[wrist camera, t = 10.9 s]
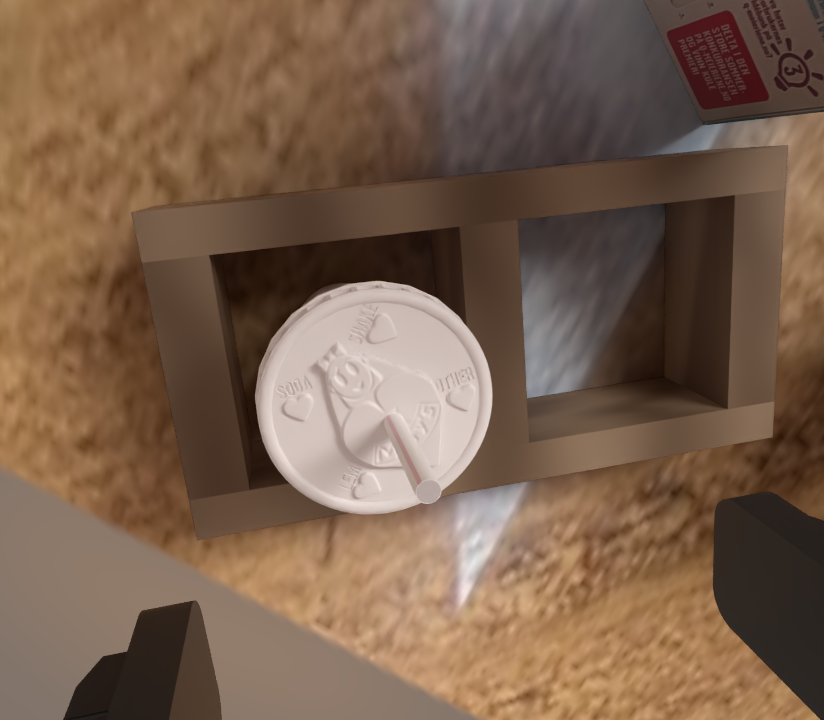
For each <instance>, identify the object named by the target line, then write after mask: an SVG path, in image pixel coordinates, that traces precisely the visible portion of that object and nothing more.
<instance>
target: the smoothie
mask: <svg viewBox="0 0 824 720" xmlns="http://www.w3.org/2000/svg"><path fill="white" fill-rule="evenodd" d="M255 403H256V409H257V416H258V423H259V428H260V432H261V436H262V440H263V443H264V445H265V448H266V450H267V452H268V454H269V456H270V458H271V460H272V462H273V463H274V465H275V466H276V468H277V469H278V471H279V472H280V473H281V474H282V476H283V477H284V478H285V479H286V480H287V481H288V482H289V483H290V484H291V485H292V486H293V487H294V488H296V489H297V490H298V491H299V492H301V493H302V494H304V495H305V496H307V497H308V498H310V499H311V500H313V501H315V502H317V503H319V504H321V505H324V506H327V507H329V508H332V509H335V510H339V511H343V512H348V513H355V514H383V513H390V512H395V511H399V510H403V509H406V508H409V507H412V506H415V505H417V504H419V503H424V504H431V503H433V502H435V501H437V500H438V499H439V497H440V496H441V492H442V490H444V489H445V488H446V487H447V486H449V485H450V484H451V483H452V482H453V481H454V480H455V479H456V478H457V477H458V476H459V475H460V474H461V473H462V472H463V471H464V470H465V469H466V467H467V466H468V465H469V464H470V462H471V461H472V459H473V458H474V456H475V455H476V453H477V451H478V449H479V448H480V446H481V443H482V441H483V439H484V437H485V434H486V431H487V428H488V425H489V420H490V416H491V409H492V382H491V376H490V371H489V367H488V363H487V361H486V358H485V355H484V353H483V351H482V349H481V347H480V345H479V343H478V341H477V340H476V338H475V337H474V335H473V334H472V332H471V331H470V330H469V329H468V327H467V326H466V325H465V324H464V323H463V321H462V320H461V319H460V317H459V316H458V315H457V314H455V313H454V312H453V311H452V310H451V309H449V308H448V307H447V306H446V305H445V304H444V303H442V302H441V301H440V300H439V299H438V298H436V297H434V296H431V295H429V294H427V293H425V292H423V291H420V290H418V289H416V288H414V287H412V286H409V285H403V284H397V283H390V282H384V281H371V282H362V283H352V284H350V283H336V284H331V285H327V286H325V287H322V288H320V289H319V290H317V291H315V292H314V293H313V294H312V295H310V296H309V297H308V298H307V299H306V301H305V302H304V303H303V305H302V307H301V308H300V309H298V310H297V311H295V312H294V313H293V314H291V316H290V317H289V318H288V319H287V320H286V322H285V323H284V324H283V325H282V327H281V328H280V329H279V330H278V332H277V333H276V334H275V335H274V336H273V338H272V339H271V341H270V343H269V346H268V348H267V350H266V353H265V355H264V357H263V359H262V362H261V364H260V366H259V371H258V378H257V385H256V393H255Z"/></svg>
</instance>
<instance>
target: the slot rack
mask: <svg viewBox="0 0 824 720" xmlns="http://www.w3.org/2000/svg"><path fill="white" fill-rule="evenodd" d="M787 157H788V145H785V146H767V147H750V148H732V149H715V150H703V151H693V152H683V153H674V154H664V155H654V156H644V157H634V158H624V159H614V160H605V161H595V162H585V163H575V164H565V165H555V166H546V167H536V168H526V169H516V170H506V171H496V172H487V173H477V174H467V175H457V176H447V177H437V178H427V179H418V180H408V181H398V182H388V183H378V184H368V185H359V186H349V187H339V188H329V189H319V190H309V191H300V192H290V193H280V194H270V195H260V196H250V197H241V198H231V199H221V200H211V201H201V202H191V203H181V204H172V205H162V206H154V207H150V208H147V209H143V210H139V211H136V212H132V218H133V223H134V228H135V233H136V238H137V243H138V248H139V253H140V258H141V263H142V268H143V273H144V278H145V283H146V288H147V293H148V298H149V303H150V308H151V313H152V318H153V323H154V328H155V333H156V338H157V343H158V348H159V353H160V358H161V363H162V368H163V373H164V378H165V382H166V387H167V392H168V397H169V402H170V407H171V412H172V417H173V422H174V427H175V432H176V437H177V442H178V447H179V452H180V457H181V462H182V467H183V472H184V477H185V482H186V487H187V492H188V497H189V502H190V507H191V512H192V517H193V522H194V527H195V532H196V537H197V540H201V539H207V538H212V537H218V536H223V535H229V534H235V533H240V532H246V531H251V530H257V529H263V528H268V527H274V526H279V525H285V524H290V523H296V522H302V521H307V520H313V519H318V518H324V517H330V516H335V515H341V514H346V513H348V512H343V511H339V510H335V509H332V508H329V507H327V506H324V505H321V504H319V503H317V502H315V501H313V500H311V499H310V498H308V497H307V496H305V495H304V494H302V493H301V492H299V491H298V490H297V489H296V488H294V487H293V486H292V485H291V484H290V483H289V482H288V481H287V480H286V479H285V478H284V477H283V476H282V474H281V473H280V472H279V471H278V469H277V468H276V466H275V465H274V463H273V462H272V460H271V458H270V456H269V454H268V452H267V450H266V448H265V445H264V443H263V440H262V441H256V442H253V441H252V435H251V429H250V423H249V417H248V411H247V405H246V399H245V393H244V387H243V382H242V376H241V370H240V364H239V358H238V352H237V346H236V340H235V334H234V328H233V322H232V316H231V310H230V304H229V298H228V292H227V286H226V281H225V275H224V269H223V263H222V257H221V254H223V253H232V252H241V251H250V250H258V249H267V248H276V247H285V246H293V245H302V244H311V243H320V242H328V241H337V240H346V239H355V238H364V237H372V236H381V235H390V234H399V233H407V232H416V231H425V230H431V242H432V254H433V266H434V278H435V289H436V298H438V299H439V300H440V301H441V302H442V303H444V304H445V305H446V306H447V307H448V308H449V309H451V310H452V311H453V312H454V313H455V314H457V315H458V316H459V317H460V319H461V320H462V321H463V323H464V324H465V325H466V326H467V327H468V329H469V330H470V331H471V332H472V334H473V335H474V337H475V338H476V340H477V341H478V343H479V345H480V347H481V349H482V351H483V353H484V355H485V358H486V361H487V363H488V367H489V371H490V376H491V382H492V409H491V416H490V420H489V425H488V428H487V431H486V434H485V437H484V439H483V441H482V443H481V446H480V448H479V449H478V451H477V453H476V455H475V456H474V458H473V459H472V461H471V462H470V464H469V465H468V466H467V467H466V469H465V470H464V471H463V472H462V473H461V474H460V475H459V476H458V477H457V478H456V479H455V480H454V481H453V482H452V483H451V484H450V485H449V486H447V487H446V488H445V489H444V490H442V492H441V496H447V495H453V494H458V493H464V492H469V491H475V490H481V489H486V488H492V487H497V486H503V485H509V484H514V483H520V482H525V481H531V480H537V479H542V478H548V477H553V476H559V475H565V474H570V473H576V472H581V471H587V470H592V469H598V468H604V467H609V466H615V465H620V464H626V463H632V462H637V461H643V460H648V459H654V458H660V457H665V456H671V455H676V454H682V453H688V452H693V451H699V450H704V449H710V448H716V447H721V446H727V445H732V444H738V443H743V442H749V441H755V440H760V439H766V438H771V437H773V421H774V402H775V383H776V364H777V345H778V326H779V308H780V289H781V270H782V251H783V232H784V213H785V195H786V176H787ZM662 203H666V212H665V358H664V377H660V378H654V379H647V380H641V381H635V382H628V383H622V384H616V385H609V386H603V387H597V388H591V389H584V390H578V391H572V392H565V393H559V394H553V395H546V396H540V397H534V398H527V393H526V373H525V353H524V333H523V314H522V294H521V274H520V254H519V235H518V220H521V219H530V218H539V217H548V216H556V215H565V214H574V213H583V212H591V211H600V210H609V209H618V208H627V207H635V206H644V205H653V204H662ZM441 496H440V497H441Z"/></svg>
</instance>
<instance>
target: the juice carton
mask: <svg viewBox="0 0 824 720" xmlns="http://www.w3.org/2000/svg"><path fill="white" fill-rule="evenodd" d="M644 1H645V3H646V5H647V8H648V10H649V12H650V14H651V16H652V18H653V20H654V22H655V24H656V26H657V29H658V31H659V33H660V35H661V37H662V39H663V41H664V43H665V45H666V47H667V50H668V52H669V54H670V56H671V58H672V60H673V62H674V64H675V66H676V68H677V70H678V73H679V75H680V77H681V79H682V81H683V83H684V85H685V87H686V89H687V91H688V94H689V96H690V98H691V100H692V102H693V104H694V106H695V108H696V110H697V112H698V115H699V117H700V119H701V121H702V123H703V125H711V124H719V123H728V122H737V121H746V120H755V119H764V118H772V117H781V116H790V115H799V114H808V113H816V112H824V0H644ZM706 123H707V124H706Z"/></svg>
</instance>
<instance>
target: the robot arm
mask: <svg viewBox="0 0 824 720" xmlns="http://www.w3.org/2000/svg"><path fill="white" fill-rule="evenodd" d="M713 590H714V596H715V600H716V603H717V606H718V609H719V611H720V613H721V615H722V617H723V619H724V620H725V622H726V623H727V625H728V626H729V627H730V628H731V629H732V630H733V631H734V632H735V633H736V634H737V635H738V636H739V637H740V638H741V639H742V640H743V641H744V642H745V643H746V644H747V645H748V646H749V647H750V648H751V649H752V650H753V651H754V653H755V654H756V655H757V656H758V657H759V658H760V659H761V660H762V661H763V662H764V663H765V664H766V665H767V666H768V667H769V668H770V669H771V670H772V671H773V672H774V673H775V674H776V675H777V676H778V677H779V678H780V679H781V680H782V681H783V682H784V683H785V684H786V685H787V686H788V687H789V688H790V689H791V690H792V691H793V692H794V693H795V694H796V695H797V696H798V697H799V698H800V699H801V700H802V701H803V702H804V703H805V704H806V705H807V706H808V707H809V708H810V709H811V710H812V711H813V712H814V713H815V714H816V715H817V716H818V717H819V718H820V719H821V720H824V521H822V520H820V519H817V518H814V517H811V516H808V515H807V514H805V513H804V512H802V511H801V510H799V509H798V508H796V507H795V506H793V505H791V504H790V503H788V502H787V501H785V500H784V499H782V498H781V497H779V496H778V495H776V494H774V493H772V492H761V493H756V494H751V495H745V496H740V497H735V498H730V499H725V500H722V501H720V502H719V503H718V505H717V507H716V510H715V519H714V564H713ZM63 720H222V717H221V704H220V696H219V690H218V685H217V681H216V676H215V671H214V667H213V663H212V658H211V653H210V649H209V644H208V639H207V635H206V631H205V626H204V621H203V616H202V613H201V609H200V606H199V604H198V602H197V601H190V602H184V603H179V604H174V605H169V606H164V607H159V608H154V609H148V610H143V611H141V613H140V614H139V616H138V619H137V623H136V626H135V629H134V632H133V635H132V638H131V642H130V645H129V648H128V651H127V652H123V653H118V654H113V655H108V656H103V657H102V658H101V659H100V661H99V662H98V663H97V664H96V665H95V666H94V667H93V668H92V670H91V671H90V672H89V673H88V674H87V675H86V676H85V678H84V679H83V680H82V681H81V682H80V683H79V685H78V686H77V687H76V689H75V691H74V694H73V696H72V699H71V701H70V704H69V707H68V709H67V712H66V714H65V717H64V719H63Z"/></svg>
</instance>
